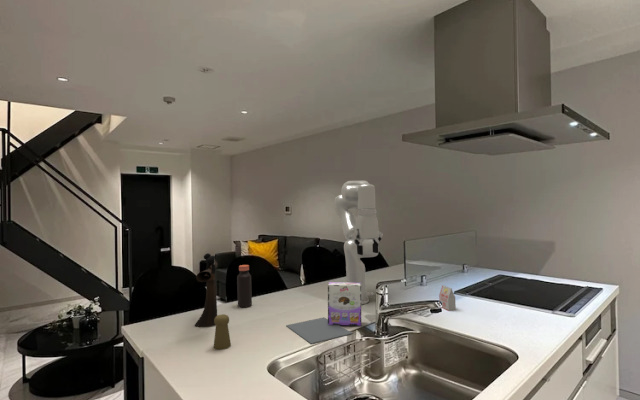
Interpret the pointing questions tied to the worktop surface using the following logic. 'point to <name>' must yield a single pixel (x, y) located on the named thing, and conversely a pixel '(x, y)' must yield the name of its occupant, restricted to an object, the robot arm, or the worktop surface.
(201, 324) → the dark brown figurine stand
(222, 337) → the olive game pawn
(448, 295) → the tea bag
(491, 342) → the worktop surface
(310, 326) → the mat
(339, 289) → the candy box
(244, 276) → the bottle
